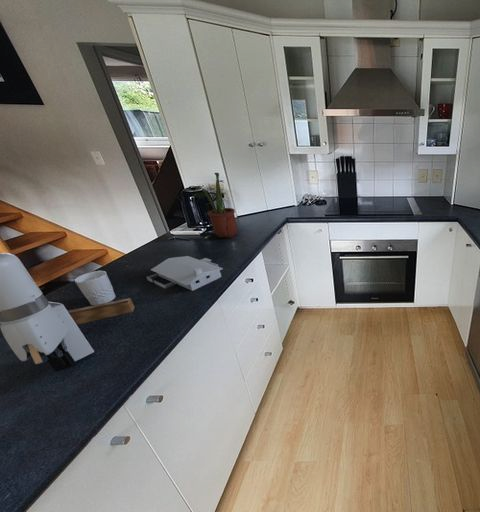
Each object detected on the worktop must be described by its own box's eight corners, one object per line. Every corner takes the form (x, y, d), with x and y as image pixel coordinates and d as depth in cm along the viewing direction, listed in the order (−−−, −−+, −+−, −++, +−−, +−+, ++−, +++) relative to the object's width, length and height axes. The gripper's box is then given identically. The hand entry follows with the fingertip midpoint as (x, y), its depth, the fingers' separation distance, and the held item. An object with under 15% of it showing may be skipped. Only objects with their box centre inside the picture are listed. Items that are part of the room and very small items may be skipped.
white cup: (118, 291, 103) (106, 268, 99) (117, 301, 98) (105, 277, 94) (89, 299, 99) (76, 275, 94) (87, 309, 93) (72, 284, 89)
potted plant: (237, 230, 162) (222, 170, 146) (244, 238, 151) (229, 174, 136) (203, 237, 152) (183, 173, 136) (209, 246, 141) (188, 178, 126)
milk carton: (89, 348, 77) (49, 289, 72) (95, 352, 74) (53, 290, 68) (53, 365, 72) (7, 303, 67) (57, 370, 68) (8, 304, 63)
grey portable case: (238, 269, 120) (234, 254, 116) (182, 296, 101) (176, 279, 98) (203, 257, 130) (199, 243, 127) (146, 280, 111) (140, 264, 108)
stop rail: (67, 326, 86) (60, 315, 84) (72, 321, 88) (64, 309, 86) (132, 312, 93) (127, 300, 90) (134, 307, 95) (129, 296, 93)
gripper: (17, 295, 65) (59, 352, 73) (-30, 334, 53) (27, 397, 61) (61, 287, 68) (96, 342, 76) (26, 321, 56) (72, 383, 64)
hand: (65, 366), depth 68 cm, fingers closed
